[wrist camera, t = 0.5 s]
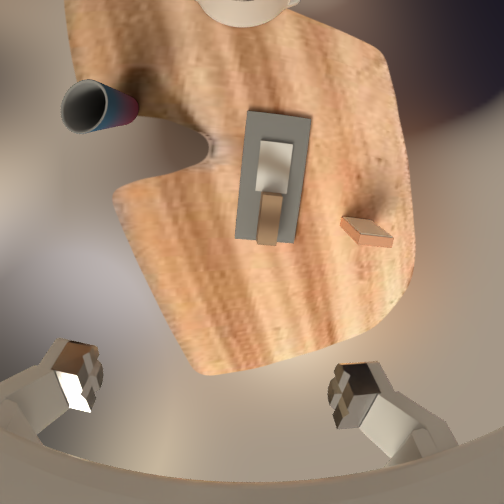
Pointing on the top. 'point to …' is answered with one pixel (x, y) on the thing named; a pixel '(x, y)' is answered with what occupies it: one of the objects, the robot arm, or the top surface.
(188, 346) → the top surface
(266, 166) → the turner
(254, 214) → the rest mat
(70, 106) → the cup
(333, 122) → the top surface
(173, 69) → the top surface
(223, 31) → the top surface
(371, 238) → the tile
